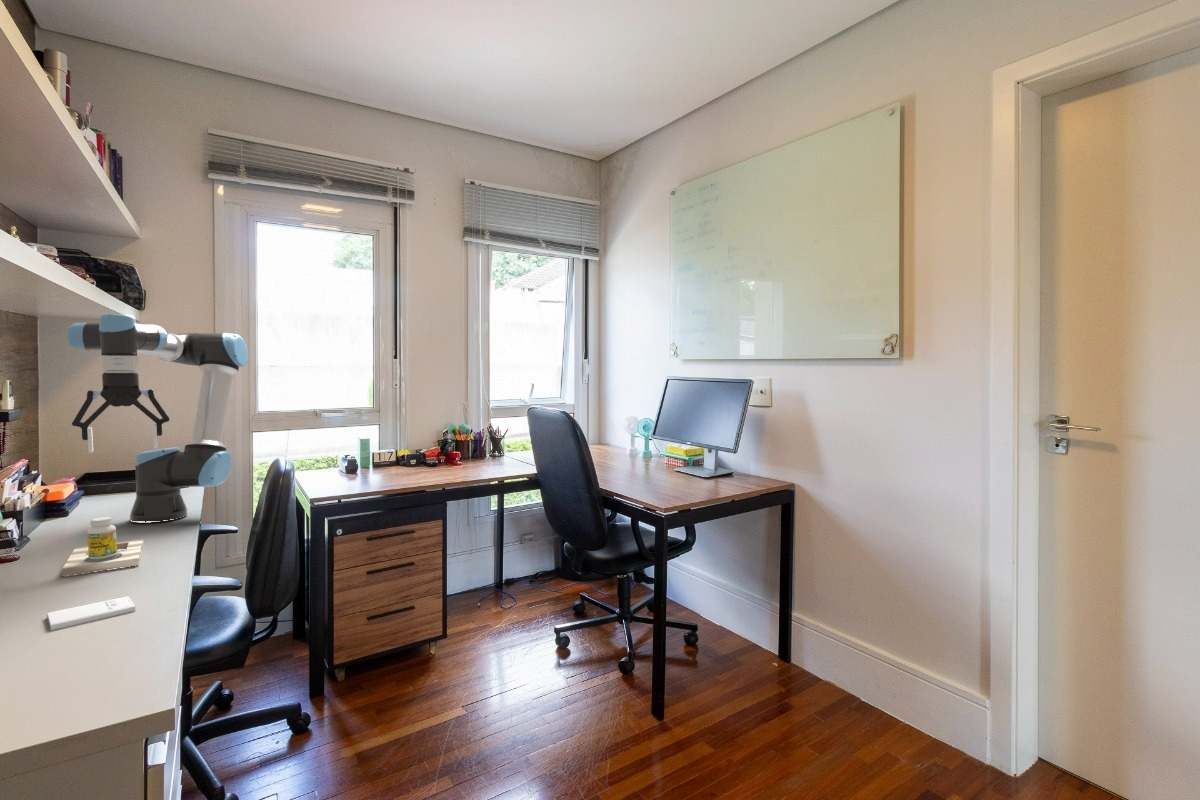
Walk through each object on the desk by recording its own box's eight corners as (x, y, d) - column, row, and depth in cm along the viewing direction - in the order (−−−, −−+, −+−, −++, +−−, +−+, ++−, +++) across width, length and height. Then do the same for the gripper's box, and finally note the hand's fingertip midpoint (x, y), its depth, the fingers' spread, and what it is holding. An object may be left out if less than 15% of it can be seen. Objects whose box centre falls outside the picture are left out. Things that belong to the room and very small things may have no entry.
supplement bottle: (119, 552, 146) (118, 515, 146) (113, 558, 141) (111, 519, 141) (92, 555, 144) (91, 517, 143) (84, 561, 139) (83, 522, 139)
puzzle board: (75, 555, 151) (75, 546, 151) (143, 546, 159) (143, 538, 159) (62, 577, 135) (62, 567, 134) (138, 566, 143) (138, 556, 143)
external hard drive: (47, 620, 112) (128, 602, 121) (50, 633, 106) (135, 613, 116) (46, 612, 112) (128, 594, 121) (50, 624, 106) (135, 605, 116)
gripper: (54, 372, 144) (59, 456, 145) (177, 372, 159) (181, 447, 160) (59, 371, 150) (64, 452, 151) (177, 371, 165) (180, 444, 166)
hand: (124, 449), depth 156 cm, fingers open, 13 cm apart
